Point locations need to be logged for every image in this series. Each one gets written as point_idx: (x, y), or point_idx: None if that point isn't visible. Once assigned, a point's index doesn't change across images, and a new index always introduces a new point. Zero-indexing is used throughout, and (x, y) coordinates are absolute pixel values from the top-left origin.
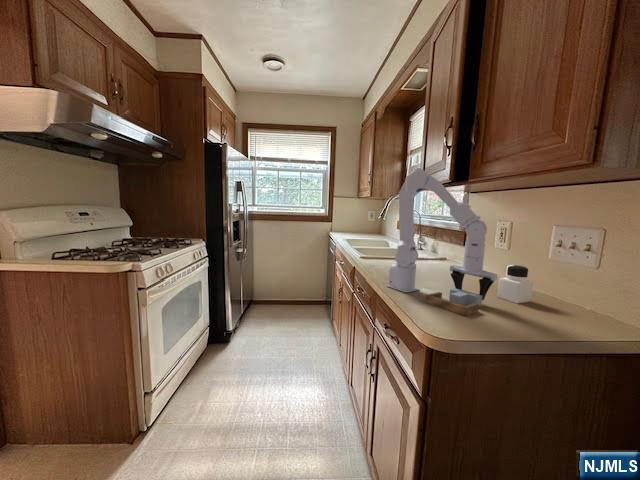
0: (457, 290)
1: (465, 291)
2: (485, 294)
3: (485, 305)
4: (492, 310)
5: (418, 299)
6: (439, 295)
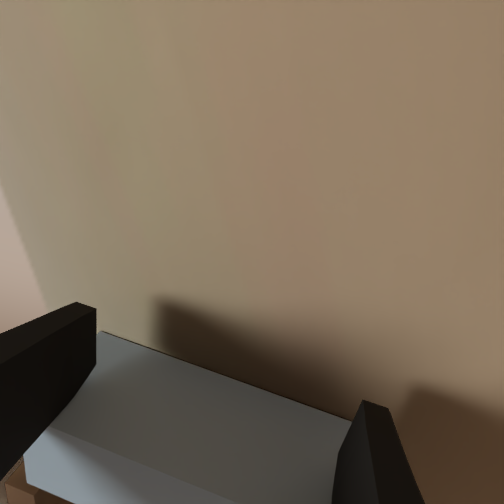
0: (89, 491)
1: (159, 487)
2: (406, 480)
3: (410, 381)
4: (488, 487)
5: (5, 494)
6: (48, 500)
